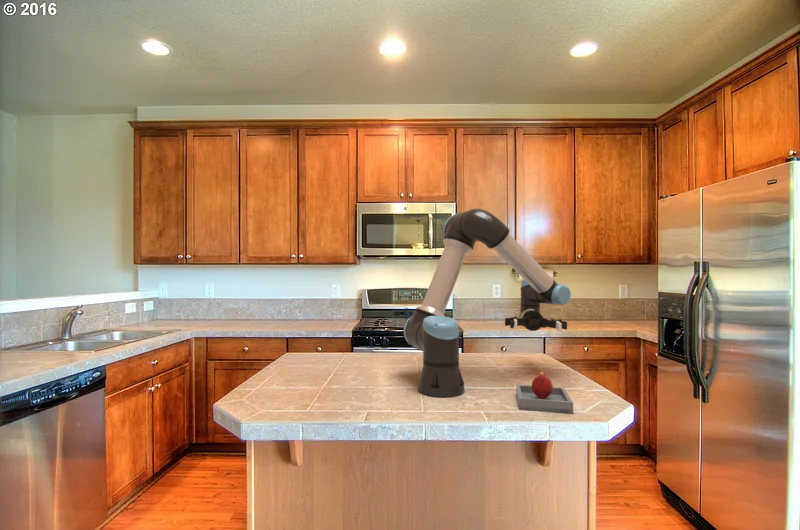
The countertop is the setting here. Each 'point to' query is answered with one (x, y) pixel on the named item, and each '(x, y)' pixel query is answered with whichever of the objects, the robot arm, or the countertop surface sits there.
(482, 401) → the countertop surface
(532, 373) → the countertop surface
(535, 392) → the onion
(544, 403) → the bin
